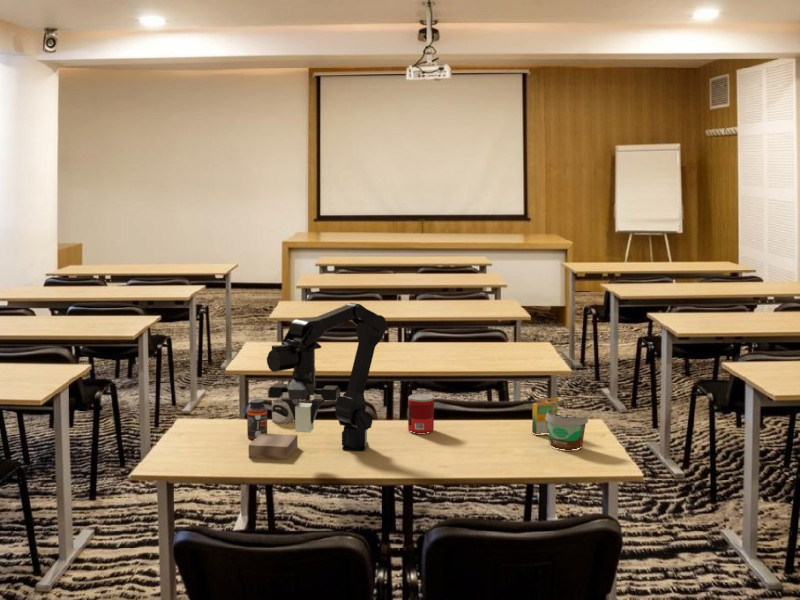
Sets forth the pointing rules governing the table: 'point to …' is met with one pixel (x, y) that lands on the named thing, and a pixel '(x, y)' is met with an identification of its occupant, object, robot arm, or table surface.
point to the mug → (281, 412)
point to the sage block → (303, 418)
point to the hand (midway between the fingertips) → (304, 422)
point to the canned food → (421, 413)
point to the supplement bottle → (256, 418)
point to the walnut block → (273, 446)
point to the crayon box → (543, 414)
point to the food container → (566, 431)
